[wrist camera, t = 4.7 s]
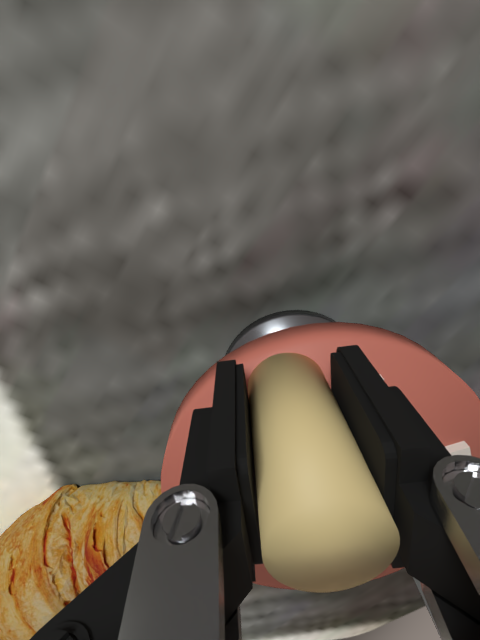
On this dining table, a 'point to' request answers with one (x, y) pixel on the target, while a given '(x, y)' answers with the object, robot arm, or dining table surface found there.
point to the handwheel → (325, 450)
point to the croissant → (66, 549)
